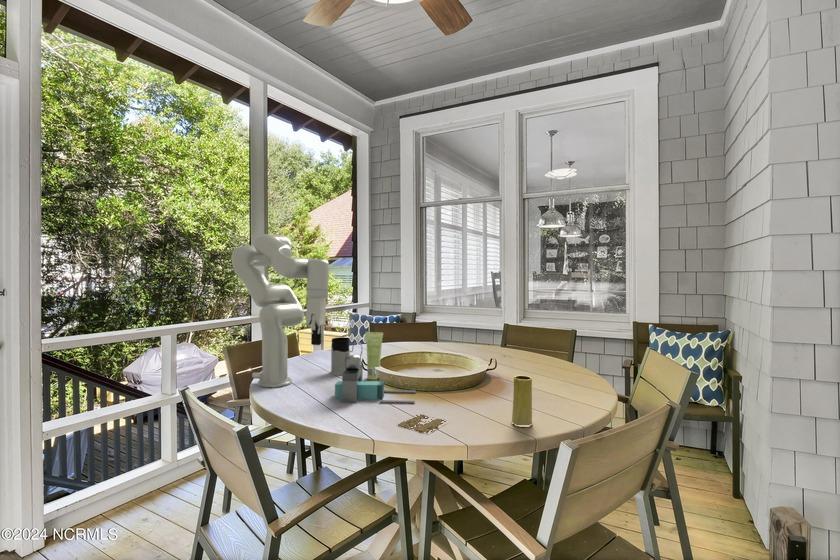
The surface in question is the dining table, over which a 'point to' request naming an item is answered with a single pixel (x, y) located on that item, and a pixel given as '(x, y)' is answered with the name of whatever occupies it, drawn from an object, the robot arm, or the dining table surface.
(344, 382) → the housing
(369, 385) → the teal rectangular block
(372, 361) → the tube
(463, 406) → the dining table surface
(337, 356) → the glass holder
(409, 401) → the pair of grey rods
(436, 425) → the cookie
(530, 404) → the vase
